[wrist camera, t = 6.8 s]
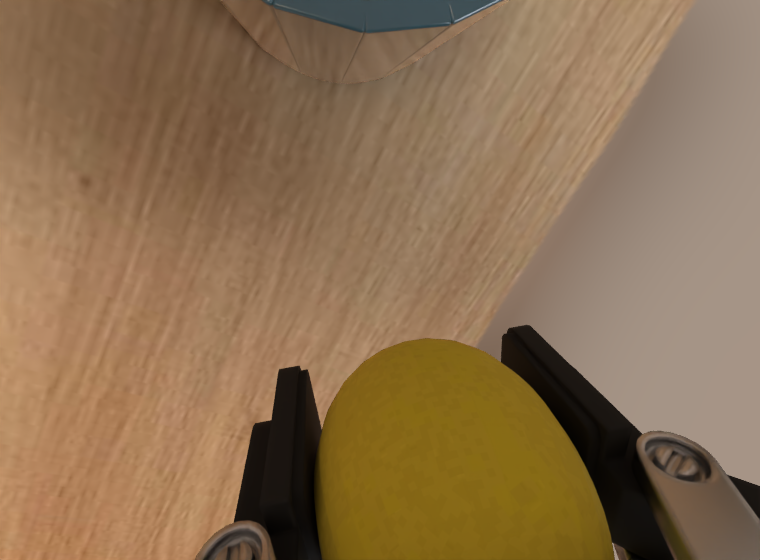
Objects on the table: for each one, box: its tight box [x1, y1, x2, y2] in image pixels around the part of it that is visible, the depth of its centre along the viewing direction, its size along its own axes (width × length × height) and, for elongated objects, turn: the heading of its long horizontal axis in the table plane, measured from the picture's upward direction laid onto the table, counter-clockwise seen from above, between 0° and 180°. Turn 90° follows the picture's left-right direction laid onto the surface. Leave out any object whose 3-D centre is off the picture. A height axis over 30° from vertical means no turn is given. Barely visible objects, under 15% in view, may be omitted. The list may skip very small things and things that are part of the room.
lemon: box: [314, 338, 615, 560], centre depth 8 cm, size 6×6×8 cm
